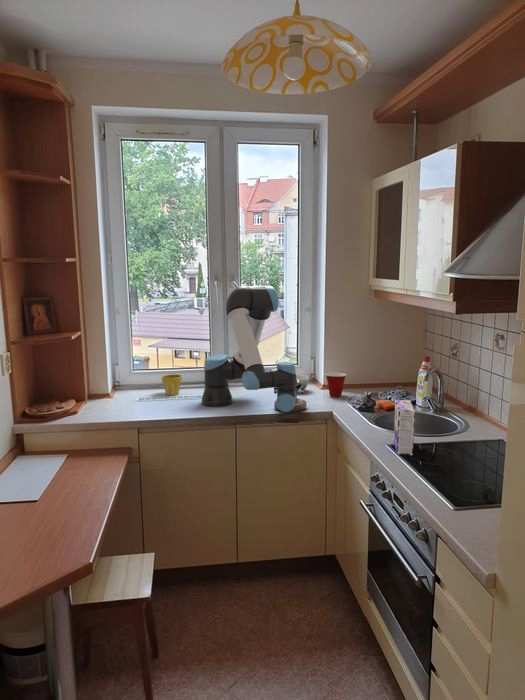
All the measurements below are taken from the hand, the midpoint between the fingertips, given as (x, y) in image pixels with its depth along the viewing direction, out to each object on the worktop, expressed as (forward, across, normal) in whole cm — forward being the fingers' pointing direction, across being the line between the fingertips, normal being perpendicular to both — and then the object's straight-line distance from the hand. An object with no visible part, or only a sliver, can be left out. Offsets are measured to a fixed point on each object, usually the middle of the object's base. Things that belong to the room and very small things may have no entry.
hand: (291, 382), depth 235 cm
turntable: (-5, 0, -12) cm, 13 cm away
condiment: (-5, 0, -7) cm, 9 cm away
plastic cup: (+19, +22, -12) cm, 31 cm away
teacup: (+28, +1, -12) cm, 30 cm away
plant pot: (+16, -64, -12) cm, 67 cm away
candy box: (-53, +44, -12) cm, 70 cm away
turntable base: (-5, 0, -12) cm, 13 cm away
